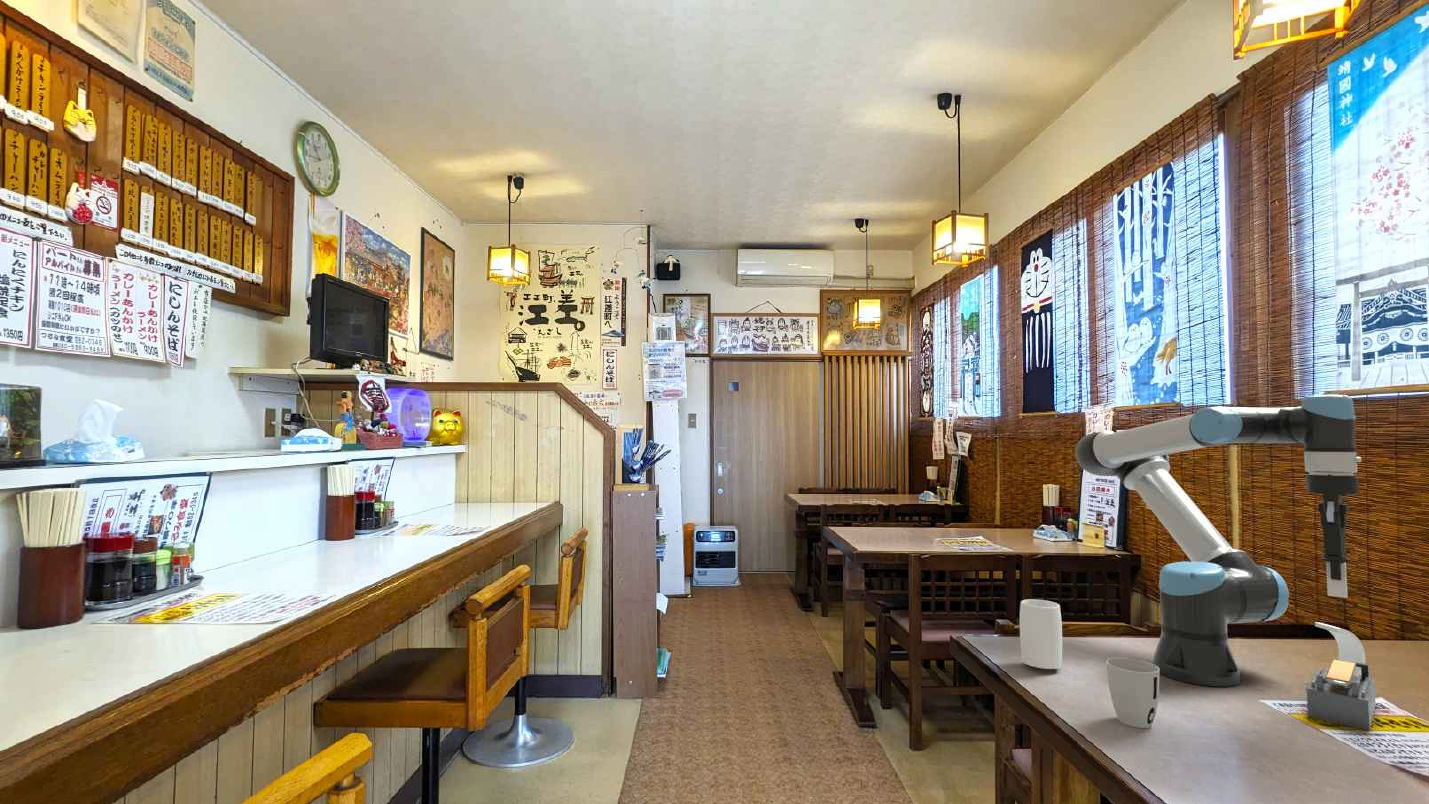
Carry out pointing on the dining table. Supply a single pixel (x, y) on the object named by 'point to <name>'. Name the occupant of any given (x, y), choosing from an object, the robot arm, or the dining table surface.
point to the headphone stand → (1347, 646)
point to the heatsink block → (1342, 699)
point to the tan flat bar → (1341, 671)
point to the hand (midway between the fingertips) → (1337, 596)
